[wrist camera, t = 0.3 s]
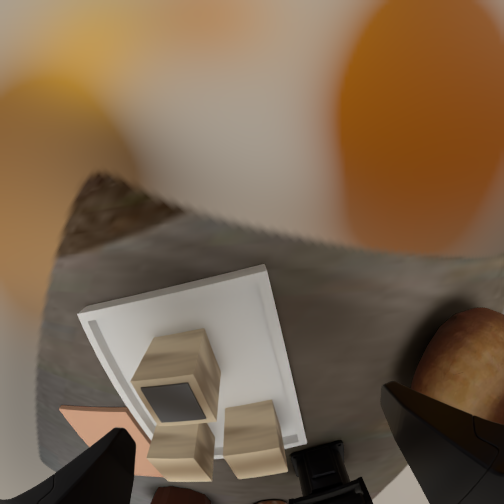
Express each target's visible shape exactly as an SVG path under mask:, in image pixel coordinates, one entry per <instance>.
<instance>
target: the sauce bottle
mask: <svg viewBox="0 0 504 504" xmlns="http://www.w3.org/2000/svg"><path fill="white" fill-rule="evenodd" d="M256 504H287V503H286V502H284V501H281V500H267V501H262V502H259V503H256Z"/></svg>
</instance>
